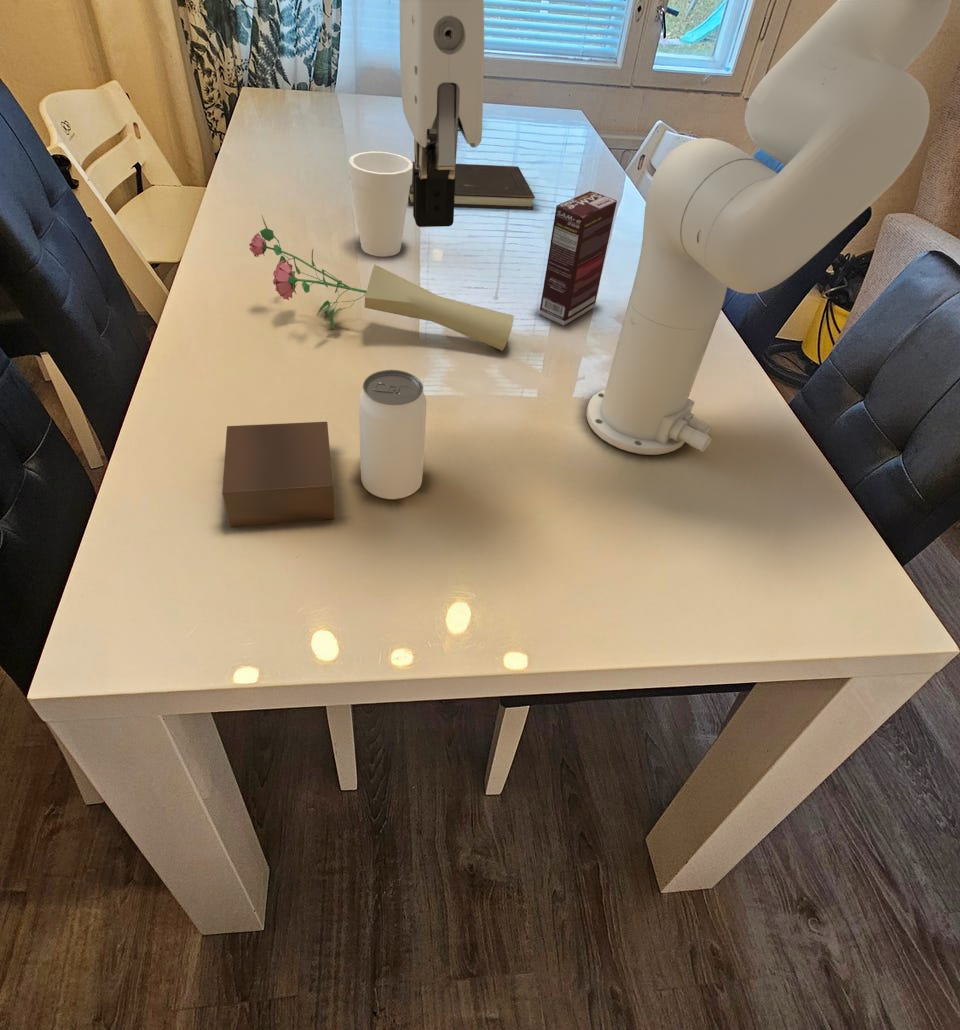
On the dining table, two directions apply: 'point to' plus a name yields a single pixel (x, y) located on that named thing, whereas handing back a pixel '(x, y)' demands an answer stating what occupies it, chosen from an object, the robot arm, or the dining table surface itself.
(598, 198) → the supplement box
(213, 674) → the dining table surface
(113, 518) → the dining table surface
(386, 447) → the can
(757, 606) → the dining table surface
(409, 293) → the flower vase
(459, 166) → the hardcover book
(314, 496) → the walnut block
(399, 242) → the foam cup
